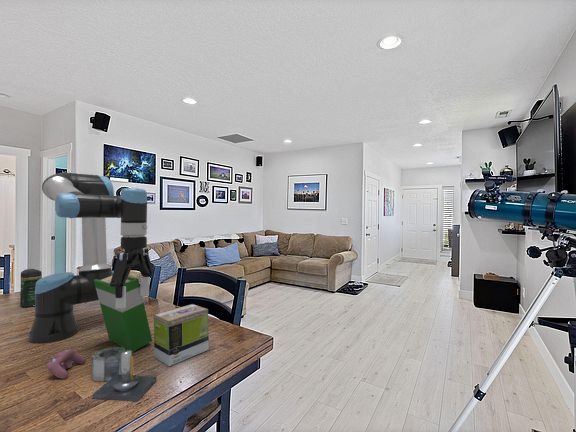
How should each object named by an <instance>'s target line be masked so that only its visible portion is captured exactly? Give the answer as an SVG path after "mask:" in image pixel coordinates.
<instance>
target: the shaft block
mask: <svg viewBox="0 0 576 432" xmlns="http://www.w3.org/2000/svg"><path fill="white" fill-rule="evenodd" d="M132 353H133V352H132V351H131V350H127V349H125V351H123V352H122V353H121V375H115V376H114V377H113V378H112V379H111V380H109V381H106V382H105V384H103V385H102V386H101V387H99V388H98V389H97V390H96V391H95V392H93V393H92V399H98V400H114V401H128V402H138V401H140V399H141V398H142V397H143V396H144V395H145V394H146V393H147V391H149V389H151V388H152V386H153V385H154V384H155V383H156V382H157V376H145V375H143V376H142V375H134V355H133V354H132Z"/></svg>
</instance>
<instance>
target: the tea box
mask: <svg viewBox="0 0 576 432" xmlns="http://www.w3.org/2000/svg"><path fill="white" fill-rule="evenodd" d="M209 330H210V329H209V309H208V308H206V307H202V306H199V305H196V304H194V303H191V304H188V305H184V306H180V307H177V308H173V309H169V310H166V311H162V312H159V313H158V312H157V313H154V314H153V347H154V348H153V355H154V357H155V359H157V360H158V361H160V362H162V363H163V364H165V365H166V366H168V367H171V366H173V365H176V364H178V363H181V362H183V361H185V360H187V359H190V358H192V357H195V356H197V355H199V354H201V353H204V352H207V351H208V350H209V349H210V347H209V346H210V342H209ZM209 351H210V350H209Z"/></svg>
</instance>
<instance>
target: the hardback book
mask: <svg viewBox="0 0 576 432" xmlns="http://www.w3.org/2000/svg"><path fill="white" fill-rule="evenodd" d="M112 274H113V273H112ZM111 279H112V276H110V277H107V278H105V279H102V280H98V279H95V280H94V283H95V287H96V291H97V295H98V299H99V301H98V303H99V306H100V310H101V314H102V317H103V321H104V324H105V328H106V332H107V333H106V334H107V335H108V340H110V341H112V343H115V344H116V345H118V346H119V347H123V348H125V350H131V351H132V353H134V352H135V351H138V350H139V349H140V348H142V347H145V346H146V345H147V344H149V343H151V342H152V341H153V338H152V332H151V328H150V324H149V320H148V316H147V310H146V307H145V303H144V300H143V299H144V298H143V296H140V281H139V278H136V277H134V276H133V277H132V276H129V275H128V277H127V280H126V282H125V284H124V286H126V308H116V297H115V295H116V294H115V287H112V286H110V282H111Z"/></svg>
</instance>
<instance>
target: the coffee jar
mask: <svg viewBox="0 0 576 432" xmlns="http://www.w3.org/2000/svg"><path fill="white" fill-rule="evenodd" d="M42 273H43V272H42V270H39V269H35V268H28V269H27V268H26V269H24V270H22V271H21V272H20V297H19V300H20V302H19V303H20V307H22V306H24V307H23V308H28V307H27V306H33V305H35V287H36V282H37V281H38V280H39V279H41V278H43V277H42V275H43V274H42Z"/></svg>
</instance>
